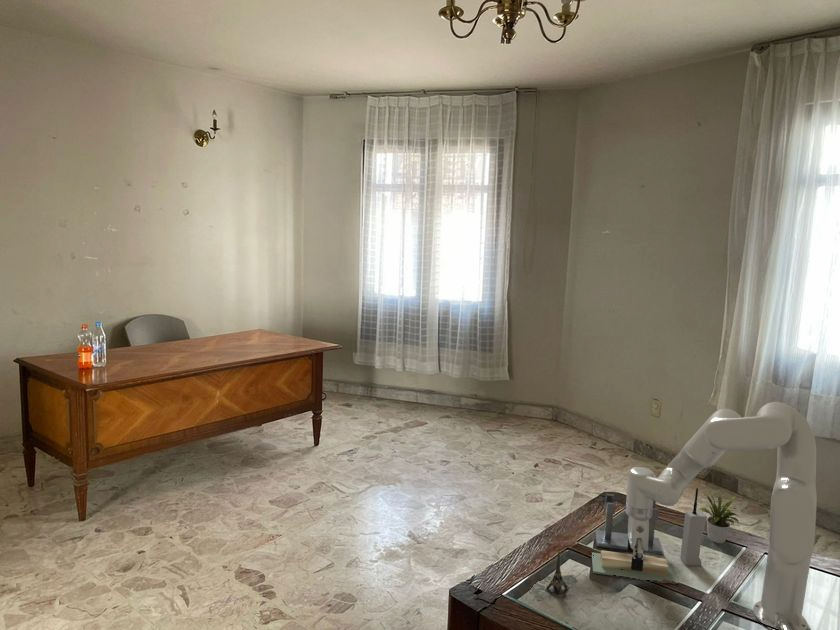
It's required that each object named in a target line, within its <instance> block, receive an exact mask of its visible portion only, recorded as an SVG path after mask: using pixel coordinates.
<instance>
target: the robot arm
mask: <svg viewBox="0 0 840 630" xmlns="http://www.w3.org/2000/svg"><path fill="white" fill-rule="evenodd" d="M816 443H817V442H816V438H815V434H814V432H813V429H812V426H811V425H810V423H809V422H808V420H807V419H806V417H805V416H804V415H803V414H802V413H801V412H800V411H798V410H797V409H796V408H794V407H793V406H791V405H789V404H787V403H784V402H781V401H773V402H767V403H766V404H764V405H762V406H761V407H760V408H759V410H758V411H757V413H756V416H755V415H754V416H746V417H744V416H743V417H741V415H740V414H739V413H738V412H736V411H735V410H732V409H730V408H720V409H717V410H716V411H715V412H713V413H712V414H711V415H710V416H709V417H708V419H707V420H705V422H704V423H703V424H702V425H701V426H700V428H698V430H697V431H696V432H695V433H694V434H693V435H692V437H691V438H690V439H689V440H688V441H687V442H686V443H685V445H684V446H683V447H682V449H681V450H680V451H679V452H678V453H677V454H676V455H675V456H674V458H673V459H672V460H671V461H670V462H669V463H668V465H667V466H666V467H665V468H664V469H663V470H662V472H661V473H660V474H659V476H658V477H657V476H656V474H655V473H654V471H653V470H652V469H649V468H647V467H644V466H643V467H642V466H635V467H632V468H630V469H629V471H628V476H627V488H626V498H625V499H626V501H625V513H626V515H627V516H628V519H627V521H628V523H627V534H628V537H629V539H628V548H627V550H626V551H627V552H628V553H629V552H630V553H632V555H633V557H632V562H631V570H635V571H643V560H644V559H643V556H644V553H643V549H644V551H648V538H649V519H650V518H651V517H652V511H653V500H654V501H656V503H658V504H660V505H663V506H666V507H667V506H668V507H671V506H674V505H676V504H677V503H678V502H680V499H681V497H682V495H683V492H684V491H685V489H686V487H687V486H688V485H689V484H690V483H691V482H692V481H693V480H694V478H696V476H697V475H698V474H699V473H700V472H702V471H703V470H704V469H706V468H711V467H713V465H715V463H716V462H717V461H718V460H719V459H720V458H721V457H722V455H724V453H725V452H726V451H752V450H755V451H756V450H771V449H777V453H776V454H777V455H776V459H777V460H776V461H777V462H776V463H777V464H776V477H775V482H774V484H773V488H772V492H771V497H770V514H769V532H768V533H769V535H768V542H769V543H768V550H767V557H766V562H765V563H766V564H765V571H764V578H763V585H762V593H761V597H760V598H761V599H760V601H758V602H756V603H754V604H753V606H752V607H753V608H752V613H753V612H754V614H755V616H756V617H757V618H758V619H759V620H760V621H762V622H763V623H765V624H768V625H770V626H771V627H774V628H776V629H779V630H807V629H808V622H807V619H806V618H805V616H803V610H804V603H805V598H806V597H805V596H806V593H807V592H806V591H807V584H808V577H809V573H810V572H809V571H810V568H811V561H812V556H813V554H814V551H815V539H816V522H817V521H816V520H817V504H818V503H817V502H818V501H817V500H818V498H817V497H818V495H817V494H818V493H817V489H816V488H817V487H816V486H817V485H816V484H817V483H816V480H817V479H816V478H817V477H816V476H817V444H816ZM754 614H753V615H754ZM755 616H754V617H755ZM756 617H755V618H756ZM762 619H763V620H762ZM764 620H766V621H764Z"/></svg>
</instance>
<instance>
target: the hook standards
mask: <svg viewBox="0 0 840 630" xmlns="http://www.w3.org/2000/svg"><path fill="white" fill-rule="evenodd" d="M614 495H615V494H612V493H606V494H605V510H606V511H605V521H604V530H601V529H595V539H596V540H595V541H596V546H597V547H600V548H608V549H615V550H623V551H628V550H627V548H628V539H629V537H628V533H623V532H615V531H613V523H614V522H613V519H614V515H615V514H616V502H614V501H615V500H614V499H615V496H614ZM656 503H657V502H656V501H654V500H653V511H652V517H651V518H650V519H649V538H648V551H644V549H643V554H652V555H658V556H663V553H664V552H663V549H662V545H661V541H660V539H659V537H655V528H656V520H659V512H660V510H659V508H657V507H656Z"/></svg>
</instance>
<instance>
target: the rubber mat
mask: <svg viewBox="0 0 840 630" xmlns="http://www.w3.org/2000/svg"><path fill="white" fill-rule="evenodd" d="M591 553H592V555H591V562H592V563H591V565H592V573H594V574H599V575H604V576H605V575H606V576H612V577H614V576H613V575H616V576H615V577H618V578H619V576H625V577H630V578H629V579H632V578H635V579H634V580H639V579H640V581H646V580H657V581H662V580H663V579H667V580H670V581H674V582H676V583H678V584H679V581H678V579H677V576H676V575H677V574H676V573H675V569H674V565H673V563H671V562H667V564H668V575H667V576H665V575H658V574H651V573H644V572H637V571H630V570H621V569H615V568H608V567H601V560H600V558H601V552H594V551H593V552H591ZM593 555H594V556H593ZM625 577H624V578H625Z"/></svg>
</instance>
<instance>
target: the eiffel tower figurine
mask: <svg viewBox="0 0 840 630" xmlns="http://www.w3.org/2000/svg"><path fill="white" fill-rule="evenodd" d="M560 550H561V549H560V548H559V551H558V552H557V561H556V566H555V571H554V575H553V576H545V577H546V578H545V579H543V580H541V581H538V582H537V583H536V584H534V585H533V587H532V588H531V587H530V589H531V591H532V592H533V594H534V596H535V598H536V600H537V601H544V599H543V596H544V593H545V592H546V593H550V594H552V595H554V596H556V597H559V598H561V599H563V598H564V596H565V595H566V593H568V591H569V589H570V587H569V586H573V585H576V583H579V581H578V579H577V578H576V577H575V575H574V574H571V575H562V572H561V553H562V552H561V551H560Z"/></svg>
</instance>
